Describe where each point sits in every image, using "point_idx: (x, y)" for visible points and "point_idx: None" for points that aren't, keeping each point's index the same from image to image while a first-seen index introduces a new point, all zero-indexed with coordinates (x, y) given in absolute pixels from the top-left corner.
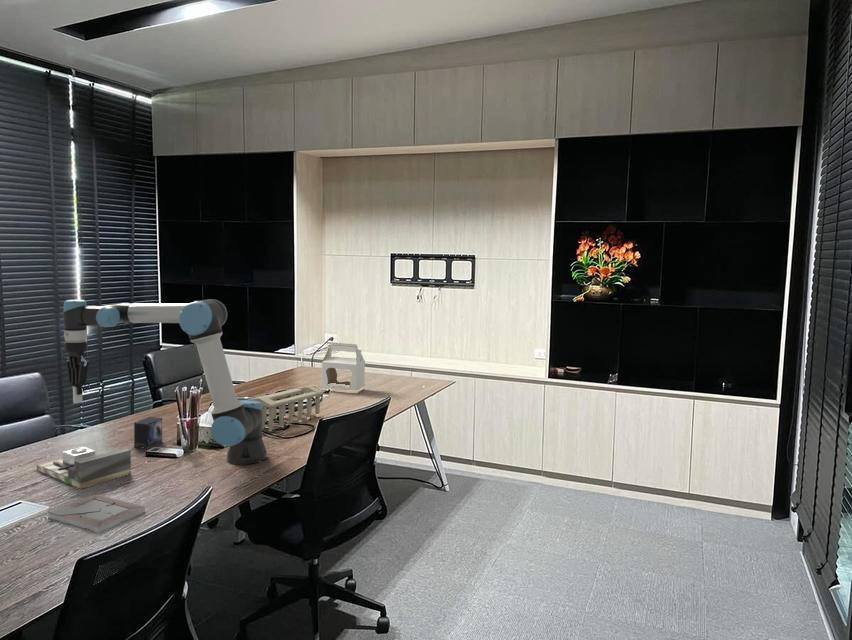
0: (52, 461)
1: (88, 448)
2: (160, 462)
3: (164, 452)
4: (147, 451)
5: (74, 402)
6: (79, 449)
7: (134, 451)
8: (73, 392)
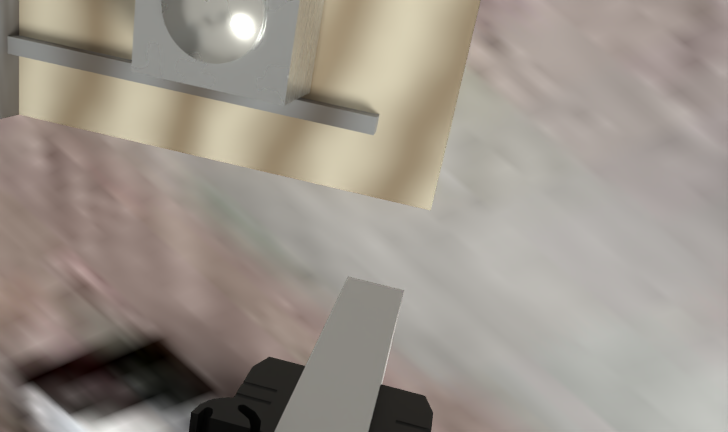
0: None
1: (213, 88)
2: (24, 294)
3: (135, 416)
4: None
5: (367, 287)
6: (220, 22)
7: None
8: (358, 371)
